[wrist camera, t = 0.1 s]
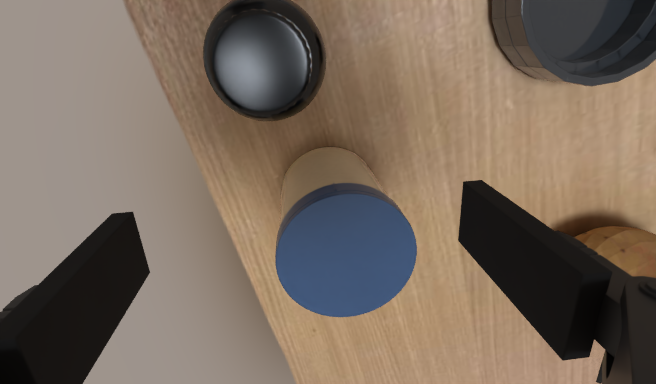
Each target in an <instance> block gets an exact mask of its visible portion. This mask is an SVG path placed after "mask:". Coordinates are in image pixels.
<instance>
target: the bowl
mask: <svg viewBox="0 0 656 384" xmlns="http://www.w3.org/2000/svg"><path fill="white" fill-rule="evenodd" d="M492 22H493V25H494V29H495V32H496V36H497V39H498V42H499V45H500V47H501V48H502V50H503V51H504V52H505V54H506V55H507V57H508V58H509V59H510V61H511V62H512V64H513V65H514V66H516V67H517V68H519V69H520V70H522V71H523V72H525V73H527V74H528V75H530V76H531V77H534V78H538V79H543V80H549V81H555V82H562V83H569V84H577V85H584V86H596V85H602V84H607V83H613V82H618V81H620V80H622V79H624V78H626V77H628V76H630V75H632V74H634V73H636V72H638V71H640V70H642V69H644V68H645V67H647V66H648V65H650V64H651V63H652V62H653V61H654V60H655V59H656V0H492Z"/></svg>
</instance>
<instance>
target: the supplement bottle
mask: <svg viewBox="0 0 656 384" xmlns="http://www.w3.org/2000/svg"><path fill="white" fill-rule="evenodd" d="M203 60H204V67H205V71H206V74H207V77H208V80H209V82H210V84H211V86H212V88H213V90H214V91H215V93H216V94H217V95H218V97H219V98H220V99H221V100H222V101H223V102H224V103H225V104H226V105H227V106H228V107H229V108H231V109H232V110H234V111H235V112H237V113H238V114H240V115H242V116H245V117H247V118H250V119H254V120H258V121H278V120H283V119H286V118H289V117H291V116H293V115H295V114H297V113H299V112H300V111H302V110H303V109H304V108H305V107H306V106H308V105H309V104H310V102H311V101H312V100H313V99H314V97H315V96H316V94H317V93H318V91H319V89H320V87H321V85H322V82H323V79H324V75H325V69H326V53H325V47H324V43H323V39H322V36H321V34H320V32H319V30H318V28H317V26H316V24H315V23H314V21H313V20H312V19H311V17H310V16H309V15H308V14H307V13H306V12H305V11H304V10H303V9H302V8H301V7H300V6H298V5H297V4H296V3H294V2H292V1H291V0H232V1H230V2H229V3H227V4H226V5H225V6H224V7H222V8H221V9H220V11H219V12H218V13H217V14H216V15H215V17H214V18H213V20H212V21H211V23H210V25H209V27H208V30H207V32H206V36H205V40H204V46H203Z"/></svg>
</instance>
